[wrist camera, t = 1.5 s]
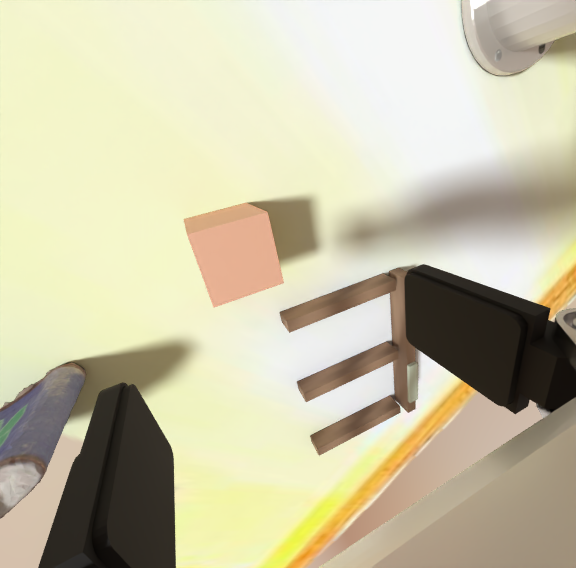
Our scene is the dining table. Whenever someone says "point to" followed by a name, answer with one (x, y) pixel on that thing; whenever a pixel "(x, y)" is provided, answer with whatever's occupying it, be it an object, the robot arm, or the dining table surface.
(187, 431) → the dining table surface
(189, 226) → the block
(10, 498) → the dark blue pouch
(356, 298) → the comb rack
